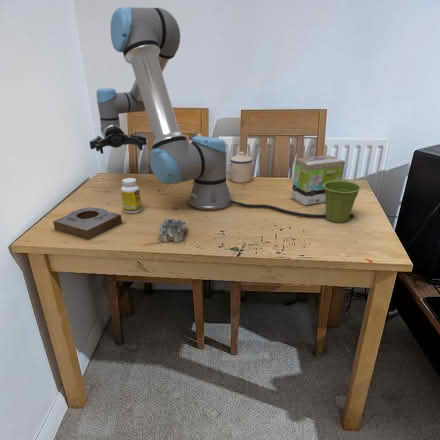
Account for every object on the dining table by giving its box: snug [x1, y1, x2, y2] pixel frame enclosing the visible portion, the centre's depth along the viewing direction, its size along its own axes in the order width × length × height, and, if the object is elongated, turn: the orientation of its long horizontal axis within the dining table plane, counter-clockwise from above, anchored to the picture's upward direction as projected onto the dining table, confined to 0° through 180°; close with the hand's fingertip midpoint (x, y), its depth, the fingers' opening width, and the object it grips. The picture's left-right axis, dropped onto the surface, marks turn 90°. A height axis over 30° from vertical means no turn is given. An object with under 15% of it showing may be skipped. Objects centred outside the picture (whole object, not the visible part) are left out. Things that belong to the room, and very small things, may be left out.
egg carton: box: [157, 217, 187, 243], centre depth 126 cm, size 11×8×4 cm
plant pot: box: [323, 180, 362, 223], centre depth 134 cm, size 12×12×11 cm
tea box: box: [291, 154, 346, 206], centre depth 150 cm, size 15×10×15 cm
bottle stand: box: [52, 206, 123, 241], centre depth 134 cm, size 16×16×3 cm
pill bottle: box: [120, 177, 142, 214], centre depth 143 cm, size 6×6×11 cm
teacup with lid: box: [226, 151, 253, 184], centre depth 172 cm, size 12×9×12 cm
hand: (121, 147), depth 143 cm, fingers open, 13 cm apart
